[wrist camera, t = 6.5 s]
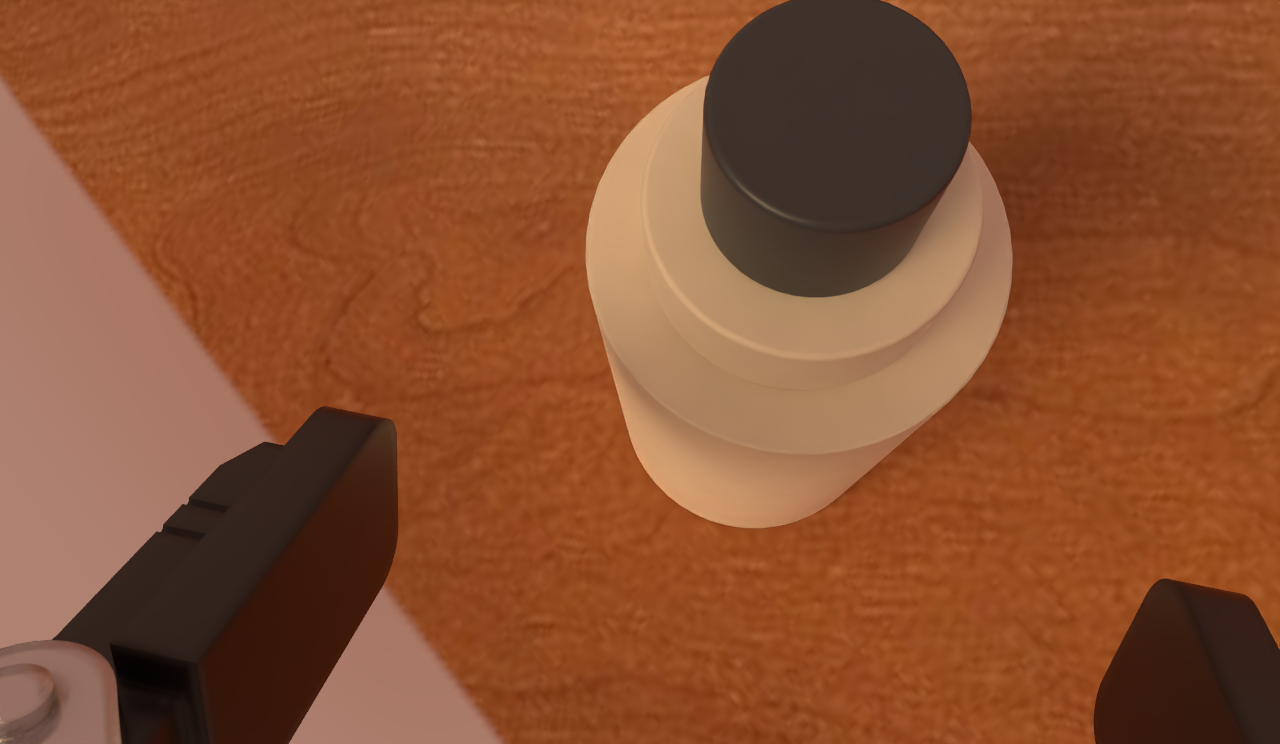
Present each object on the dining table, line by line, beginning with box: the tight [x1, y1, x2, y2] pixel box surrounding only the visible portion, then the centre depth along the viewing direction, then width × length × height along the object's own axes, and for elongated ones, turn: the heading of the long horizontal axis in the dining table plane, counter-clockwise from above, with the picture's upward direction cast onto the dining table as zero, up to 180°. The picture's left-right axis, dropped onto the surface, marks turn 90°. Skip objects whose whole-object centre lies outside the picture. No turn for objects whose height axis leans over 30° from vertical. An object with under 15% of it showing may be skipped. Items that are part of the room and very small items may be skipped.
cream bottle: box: [586, 0, 1013, 528], centre depth 15 cm, size 6×6×12 cm
